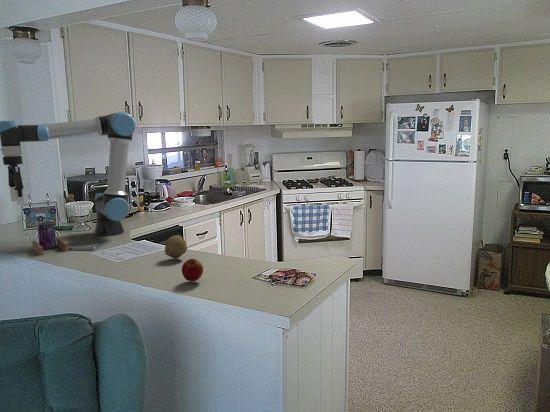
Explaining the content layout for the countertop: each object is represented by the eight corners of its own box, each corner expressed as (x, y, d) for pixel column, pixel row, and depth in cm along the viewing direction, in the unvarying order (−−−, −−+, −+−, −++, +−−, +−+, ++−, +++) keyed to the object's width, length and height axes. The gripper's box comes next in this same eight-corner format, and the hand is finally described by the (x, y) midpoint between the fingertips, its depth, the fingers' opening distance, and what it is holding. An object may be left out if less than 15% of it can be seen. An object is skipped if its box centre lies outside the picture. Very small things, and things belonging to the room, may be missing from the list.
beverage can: (49, 250, 211) (47, 224, 209) (36, 249, 213) (33, 224, 211) (59, 246, 218) (57, 221, 216) (46, 245, 220) (44, 221, 218)
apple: (177, 282, 162) (176, 260, 161) (193, 276, 169) (192, 255, 168) (192, 285, 158) (191, 263, 157) (208, 279, 165) (207, 257, 164)
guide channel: (60, 244, 221) (59, 237, 221) (68, 251, 209) (68, 243, 208) (32, 248, 214) (32, 241, 214) (40, 255, 202) (39, 247, 201)
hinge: (113, 247, 215) (113, 244, 215) (71, 253, 204) (71, 251, 203) (106, 243, 223) (106, 240, 223) (65, 249, 212) (65, 246, 212)
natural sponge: (192, 257, 194) (191, 234, 193) (177, 262, 187) (175, 238, 185) (177, 254, 199) (176, 232, 198) (161, 259, 192) (160, 236, 191)
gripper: (-3, 155, 211) (3, 200, 215) (7, 157, 192) (13, 206, 196) (16, 154, 216) (21, 198, 220) (27, 156, 197) (32, 204, 200)
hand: (17, 202), depth 208 cm, fingers open, 13 cm apart
